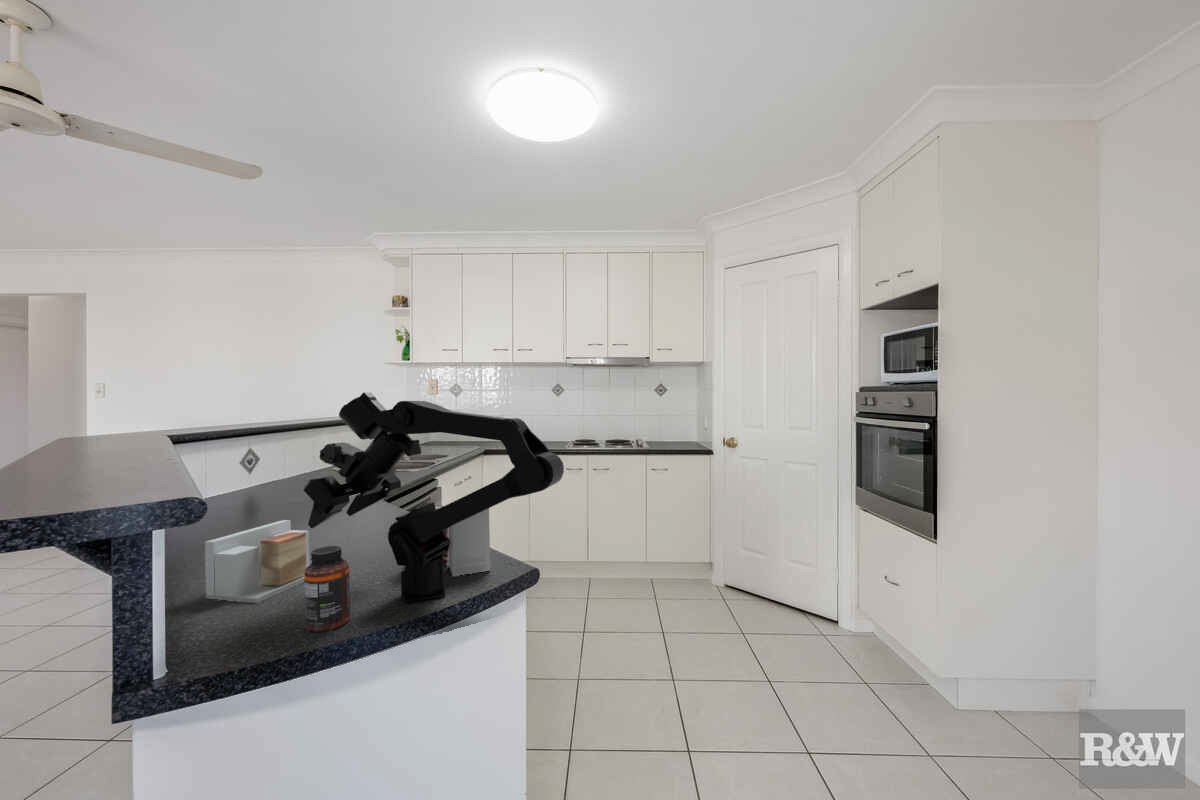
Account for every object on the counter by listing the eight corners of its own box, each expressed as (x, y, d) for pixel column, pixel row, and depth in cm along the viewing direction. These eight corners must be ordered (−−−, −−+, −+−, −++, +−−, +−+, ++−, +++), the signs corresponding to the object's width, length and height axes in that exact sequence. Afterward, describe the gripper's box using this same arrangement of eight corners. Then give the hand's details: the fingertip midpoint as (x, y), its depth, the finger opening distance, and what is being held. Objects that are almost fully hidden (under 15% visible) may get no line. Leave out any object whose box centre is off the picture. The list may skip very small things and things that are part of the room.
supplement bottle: (340, 612, 77) (339, 541, 78) (357, 622, 74) (356, 547, 74) (298, 626, 73) (297, 550, 73) (314, 637, 69) (313, 557, 69)
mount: (328, 571, 98) (327, 521, 98) (256, 603, 82) (256, 543, 82) (283, 568, 100) (283, 520, 100) (205, 599, 84) (205, 541, 84)
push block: (306, 574, 93) (305, 532, 93) (279, 585, 87) (278, 541, 87) (288, 573, 94) (288, 532, 94) (261, 584, 88) (260, 540, 88)
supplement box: (491, 572, 95) (489, 507, 95) (451, 577, 92) (450, 511, 92) (485, 561, 102) (484, 500, 102) (448, 566, 99) (447, 504, 99)
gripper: (384, 424, 97) (339, 481, 99) (310, 429, 78) (256, 499, 80) (422, 463, 95) (375, 519, 97) (355, 477, 77) (299, 547, 79)
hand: (330, 520), depth 88 cm, fingers open, 9 cm apart
